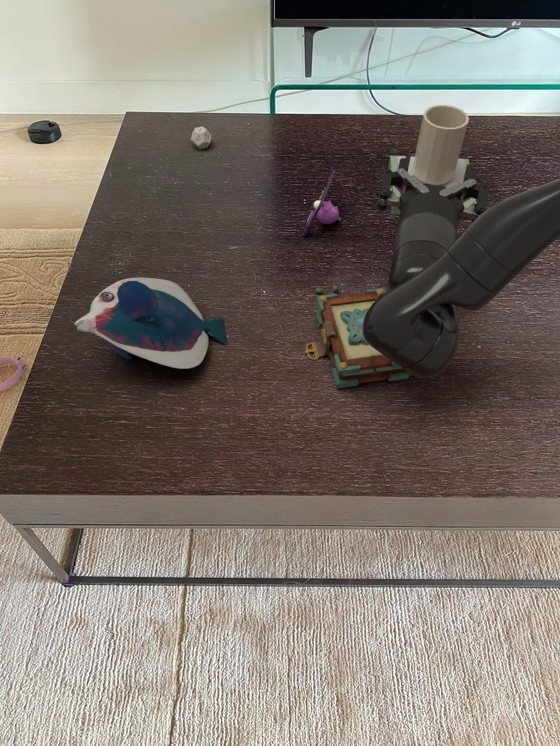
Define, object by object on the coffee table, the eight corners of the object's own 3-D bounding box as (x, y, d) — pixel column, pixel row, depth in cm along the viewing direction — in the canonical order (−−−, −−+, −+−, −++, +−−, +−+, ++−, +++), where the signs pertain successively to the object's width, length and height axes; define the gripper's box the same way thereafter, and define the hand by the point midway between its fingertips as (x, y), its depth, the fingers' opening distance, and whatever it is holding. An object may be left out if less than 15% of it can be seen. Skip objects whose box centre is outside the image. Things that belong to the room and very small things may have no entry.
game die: (214, 141, 110) (213, 125, 107) (208, 152, 107) (206, 137, 105) (195, 138, 110) (193, 122, 108) (189, 150, 108) (187, 134, 106)
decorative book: (381, 282, 88) (386, 255, 84) (419, 379, 78) (427, 354, 74) (289, 293, 87) (290, 266, 83) (315, 394, 76) (318, 369, 72)
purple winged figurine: (329, 166, 94) (314, 202, 89) (359, 181, 94) (347, 218, 89) (312, 198, 99) (298, 234, 94) (341, 213, 100) (329, 249, 95)
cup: (461, 174, 100) (477, 115, 92) (438, 192, 97) (453, 134, 89) (426, 157, 103) (439, 100, 95) (403, 175, 100) (415, 117, 92)
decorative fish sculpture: (88, 315, 65) (88, 221, 74) (61, 384, 73) (64, 293, 82) (254, 346, 74) (237, 260, 83) (214, 404, 82) (202, 320, 91)
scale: (465, 169, 105) (469, 155, 103) (475, 218, 97) (479, 204, 95) (388, 165, 105) (390, 152, 103) (391, 214, 98) (394, 200, 96)
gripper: (491, 224, 74) (496, 148, 84) (373, 205, 76) (391, 133, 86) (475, 270, 80) (481, 195, 89) (366, 252, 82) (383, 180, 91)
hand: (437, 165), depth 87 cm, fingers open, 8 cm apart
